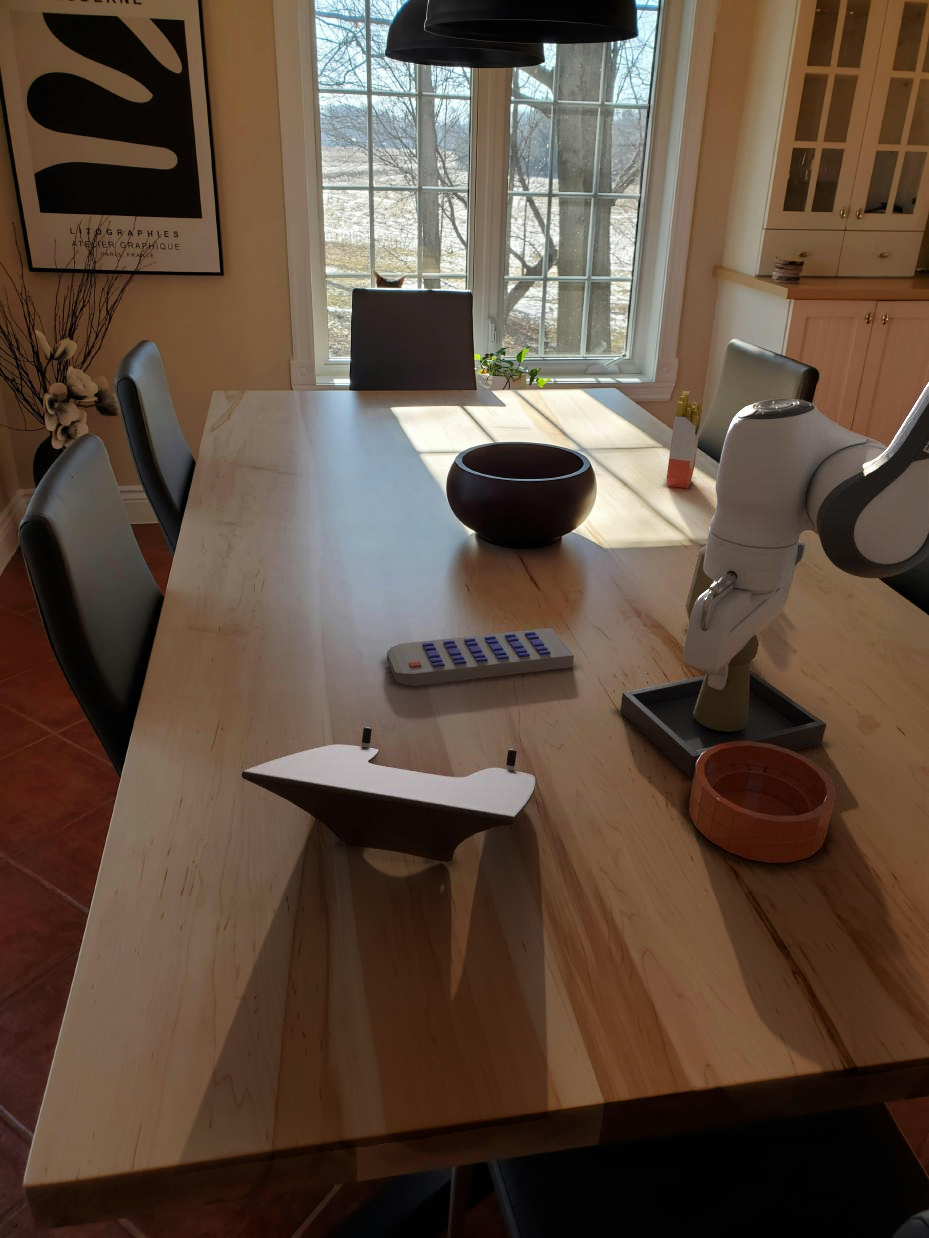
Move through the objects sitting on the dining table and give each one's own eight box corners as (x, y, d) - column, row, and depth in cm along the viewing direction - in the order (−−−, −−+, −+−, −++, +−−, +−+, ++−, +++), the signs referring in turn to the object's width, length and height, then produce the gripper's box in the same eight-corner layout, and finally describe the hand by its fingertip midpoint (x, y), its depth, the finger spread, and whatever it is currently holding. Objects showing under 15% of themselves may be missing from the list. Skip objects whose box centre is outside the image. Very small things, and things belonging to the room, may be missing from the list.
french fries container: (694, 478, 189) (707, 391, 181) (687, 492, 179) (700, 402, 172) (672, 475, 190) (684, 389, 182) (664, 489, 181) (676, 399, 173)
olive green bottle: (715, 736, 97) (731, 646, 93) (682, 708, 102) (695, 622, 98) (759, 724, 100) (777, 636, 95) (724, 698, 105) (739, 613, 100)
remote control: (572, 668, 114) (574, 653, 113) (397, 688, 108) (397, 672, 107) (550, 640, 120) (551, 625, 119) (384, 657, 115) (384, 641, 114)
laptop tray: (537, 843, 92) (548, 753, 92) (504, 908, 69) (519, 790, 69) (325, 806, 96) (336, 721, 96) (229, 857, 74) (243, 746, 74)
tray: (743, 685, 110) (746, 666, 109) (822, 743, 99) (826, 723, 98) (620, 711, 104) (622, 692, 103) (689, 777, 93) (693, 756, 92)
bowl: (764, 771, 94) (773, 731, 92) (853, 845, 84) (865, 802, 82) (663, 797, 90) (669, 755, 88) (744, 879, 79) (754, 834, 77)
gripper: (739, 599, 83) (717, 725, 90) (811, 539, 98) (788, 651, 104) (676, 581, 87) (659, 704, 93) (755, 526, 102) (736, 635, 108)
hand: (728, 675), depth 99 cm, fingers closed on olive green bottle, 4 cm apart
